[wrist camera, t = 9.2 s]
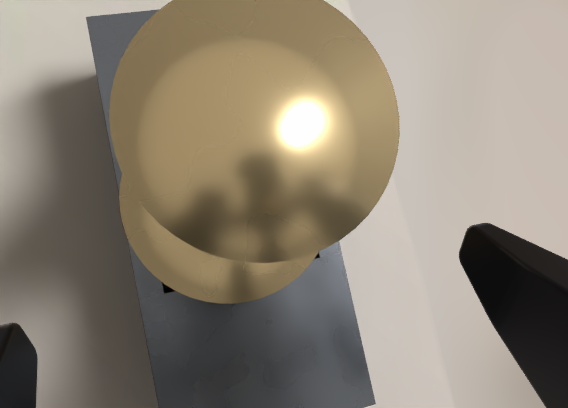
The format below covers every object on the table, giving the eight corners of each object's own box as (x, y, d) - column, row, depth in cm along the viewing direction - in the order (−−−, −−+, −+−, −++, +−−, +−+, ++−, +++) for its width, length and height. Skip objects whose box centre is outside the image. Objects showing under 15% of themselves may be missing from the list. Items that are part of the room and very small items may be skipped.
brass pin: (294, 295, 19) (482, 381, 6) (133, 284, 18) (-58, 363, 5) (305, 144, 20) (490, -59, 7) (153, 125, 18) (35, -161, 6)
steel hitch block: (340, 372, 19) (375, 403, 15) (178, 419, 17) (169, 467, 13) (268, 48, 20) (283, -3, 16) (111, 67, 18) (86, 16, 15)
